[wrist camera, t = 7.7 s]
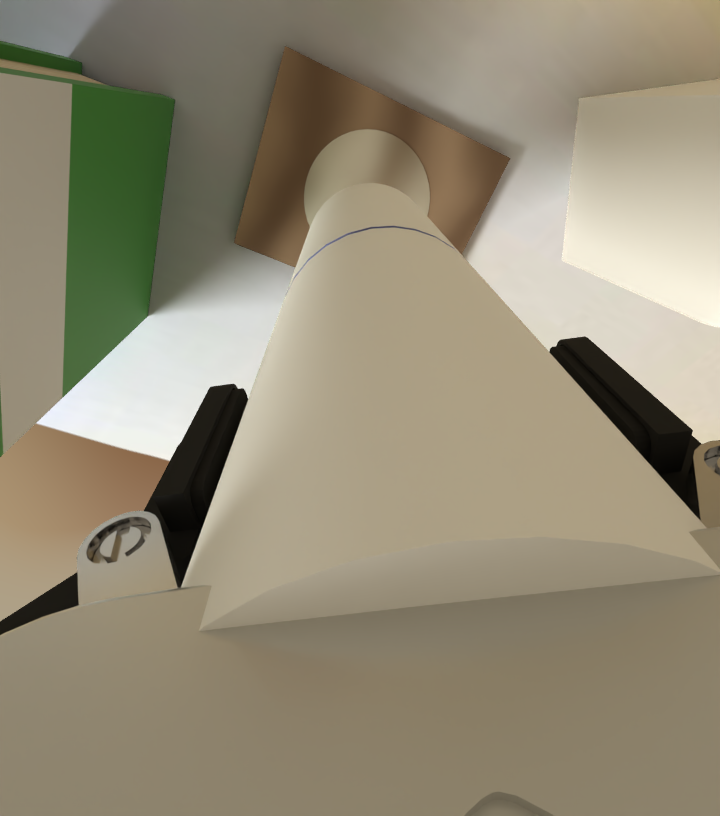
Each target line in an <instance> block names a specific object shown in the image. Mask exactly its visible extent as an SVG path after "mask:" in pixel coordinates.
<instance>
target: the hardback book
mask: <svg viewBox="0 0 720 816" xmlns="http://www.w3.org/2000/svg"><path fill="white" fill-rule="evenodd" d="M174 104H175V100H174V99H172V98H169V97H167V96H164V95H161V94H155V93H149V92H143V91H138V90H132V89H126V88H120V87H114V86H108V85H106V84H103V83H101V82H98V81H96V80H93V79H91V78H88V77H85V76H83V75H82V63H81V62H78V61H75V60H73V59H70V58H68V57H64V56H60V55H56V54H52V53H47V52H43V51H39V50H35V49H31V48H27V47H23V46H19V45H15V44H11V43H7V42H3V41H0V457H1V456H2V455H3V454H4V453H5V452H6V451H7V450H8V449H9V448H10V447H11V446H12V445H13V444H14V443H15V442H16V441H18V440H19V438H21V437H22V436H23V435H24V434H25V433H26V432H27V431H28V430H29V429H30V428H31V427H32V426H33V425H34V424H35V423H36V422H37V421H39V420H40V419H41V418H42V417H43V416H44V415H45V414H46V413H47V412H48V411H49V410H50V409H51V408H52V407H53V406H54V405H55V404H56V403H57V402H58V401H59V400H61V399H62V398H63V397H64V396H65V395H66V394H67V393H68V392H69V391H70V390H71V389H72V388H73V387H74V386H75V385H76V384H77V383H78V382H79V381H80V380H81V379H83V378H84V377H85V376H86V375H87V374H88V373H89V372H90V371H91V370H92V369H93V368H94V367H95V366H96V365H97V364H98V363H99V362H100V361H101V360H102V359H103V358H105V357H106V356H107V355H108V354H109V353H110V352H111V351H112V350H113V349H114V348H115V347H116V346H117V345H118V344H119V343H120V342H121V341H122V340H123V339H124V338H125V337H127V336H128V335H129V334H130V333H131V332H132V331H133V330H134V329H135V328H136V327H137V326H138V325H139V324H140V323H141V322H142V321H143V320H144V319H145V318H146V317H147V316H148V309H149V301H150V293H151V285H152V277H153V270H154V262H155V254H156V246H157V238H158V230H159V222H160V214H161V206H162V198H163V191H164V183H165V175H166V167H167V159H168V151H169V143H170V135H171V127H172V119H173V111H174Z"/></svg>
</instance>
